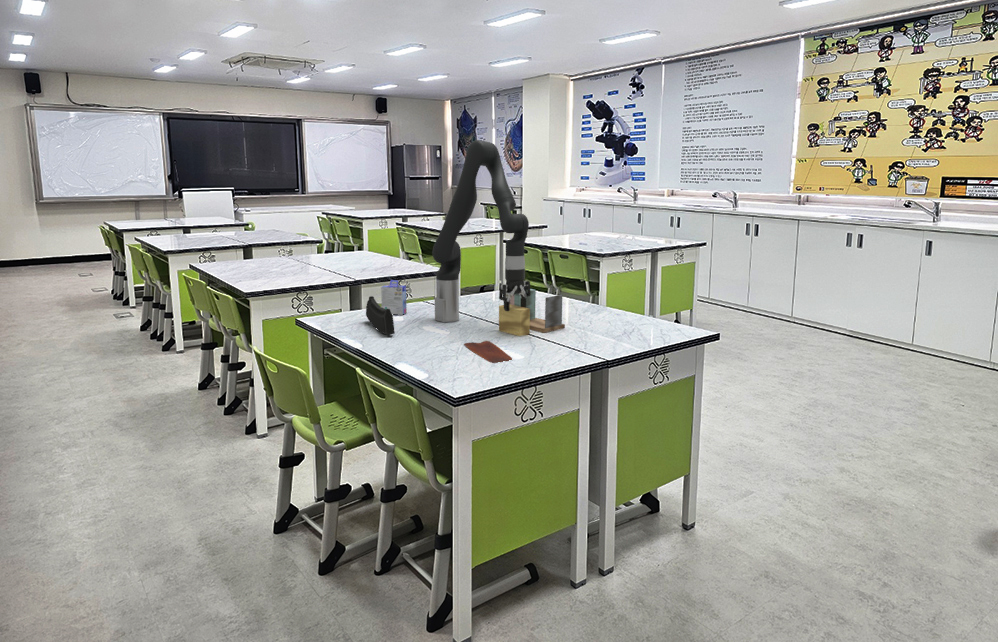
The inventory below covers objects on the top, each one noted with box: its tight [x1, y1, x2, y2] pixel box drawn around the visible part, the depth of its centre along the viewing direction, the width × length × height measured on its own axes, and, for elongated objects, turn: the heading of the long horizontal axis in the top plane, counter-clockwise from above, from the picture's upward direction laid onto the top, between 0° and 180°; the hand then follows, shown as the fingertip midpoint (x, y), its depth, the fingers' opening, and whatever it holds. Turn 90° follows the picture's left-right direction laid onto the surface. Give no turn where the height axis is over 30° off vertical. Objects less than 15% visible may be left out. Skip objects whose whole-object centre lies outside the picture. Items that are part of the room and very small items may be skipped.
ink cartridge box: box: [380, 279, 408, 316], centre depth 295 cm, size 10×6×14 cm, turn 80°
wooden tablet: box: [463, 340, 513, 364], centre depth 235 cm, size 27×10×2 cm, turn 22°
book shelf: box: [507, 287, 566, 333], centre depth 275 cm, size 12×25×14 cm, turn 42°
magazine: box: [365, 295, 395, 336], centre depth 267 cm, size 17×3×30 cm
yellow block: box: [498, 304, 531, 337], centre depth 263 cm, size 5×12×10 cm, turn 42°
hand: (515, 309), depth 262 cm, fingers open, 8 cm apart
